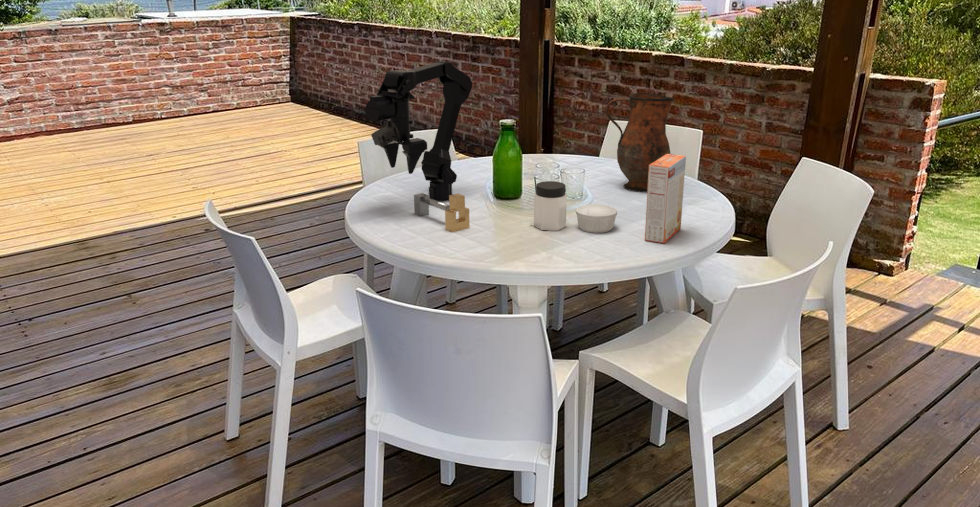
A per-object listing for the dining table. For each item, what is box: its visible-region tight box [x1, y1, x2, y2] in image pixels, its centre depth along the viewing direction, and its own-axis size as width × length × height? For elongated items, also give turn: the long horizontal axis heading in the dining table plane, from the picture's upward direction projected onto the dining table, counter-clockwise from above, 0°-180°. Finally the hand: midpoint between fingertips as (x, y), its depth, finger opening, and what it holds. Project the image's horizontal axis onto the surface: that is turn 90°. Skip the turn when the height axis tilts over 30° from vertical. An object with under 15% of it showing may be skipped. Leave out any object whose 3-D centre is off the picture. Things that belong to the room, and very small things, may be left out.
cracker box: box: [644, 153, 687, 244], centre depth 207 cm, size 14×6×21 cm, turn 149°
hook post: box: [413, 192, 450, 218], centre depth 222 cm, size 4×15×6 cm, turn 40°
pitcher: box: [605, 92, 675, 193], centre depth 250 cm, size 17×21×30 cm
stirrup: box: [444, 193, 470, 233], centre depth 213 cm, size 6×3×10 cm, turn 130°
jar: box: [533, 180, 568, 232], centre depth 216 cm, size 9×8×12 cm
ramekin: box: [575, 204, 618, 234], centre depth 216 cm, size 11×11×5 cm
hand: (401, 170), depth 226 cm, fingers open, 9 cm apart
